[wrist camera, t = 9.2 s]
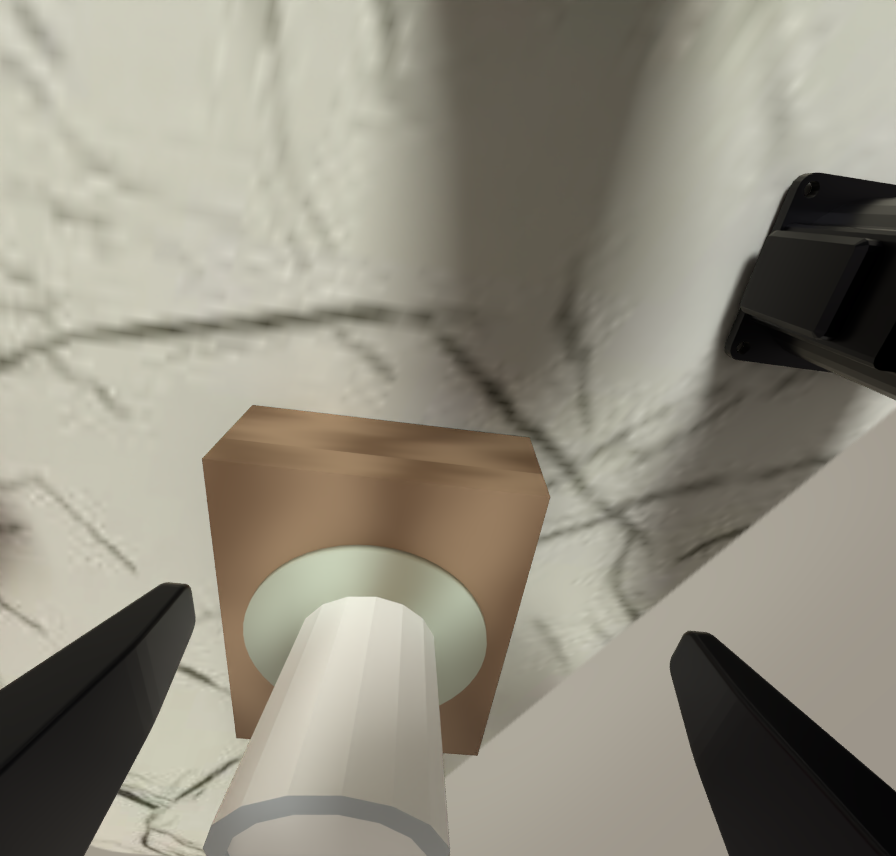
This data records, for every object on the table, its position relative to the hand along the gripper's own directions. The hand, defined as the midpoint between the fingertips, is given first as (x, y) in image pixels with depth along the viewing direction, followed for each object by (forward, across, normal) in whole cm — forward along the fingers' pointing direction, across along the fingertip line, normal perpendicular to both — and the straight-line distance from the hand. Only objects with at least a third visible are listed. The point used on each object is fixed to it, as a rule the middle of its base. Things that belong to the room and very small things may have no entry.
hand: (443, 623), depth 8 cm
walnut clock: (+12, +2, +10) cm, 16 cm away
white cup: (+7, +2, +10) cm, 12 cm away
